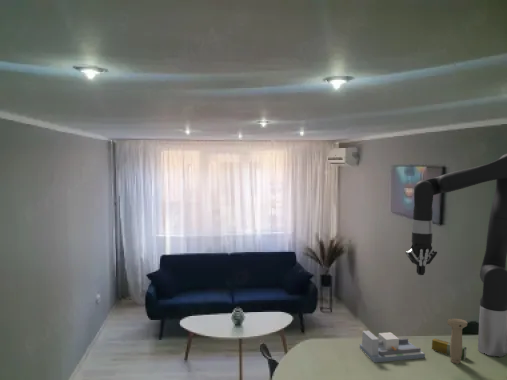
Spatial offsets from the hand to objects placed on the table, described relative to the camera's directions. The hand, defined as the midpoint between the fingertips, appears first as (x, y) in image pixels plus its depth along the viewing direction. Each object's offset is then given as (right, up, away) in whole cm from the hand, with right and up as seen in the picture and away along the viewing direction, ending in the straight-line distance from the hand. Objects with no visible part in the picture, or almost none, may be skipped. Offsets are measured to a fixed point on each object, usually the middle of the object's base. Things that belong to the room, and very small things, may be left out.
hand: (420, 274), depth 173 cm
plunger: (-17, -26, -11) cm, 33 cm away
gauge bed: (-14, -28, -9) cm, 32 cm away
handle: (+7, -29, -16) cm, 33 cm away
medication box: (+7, -28, -9) cm, 30 cm away
